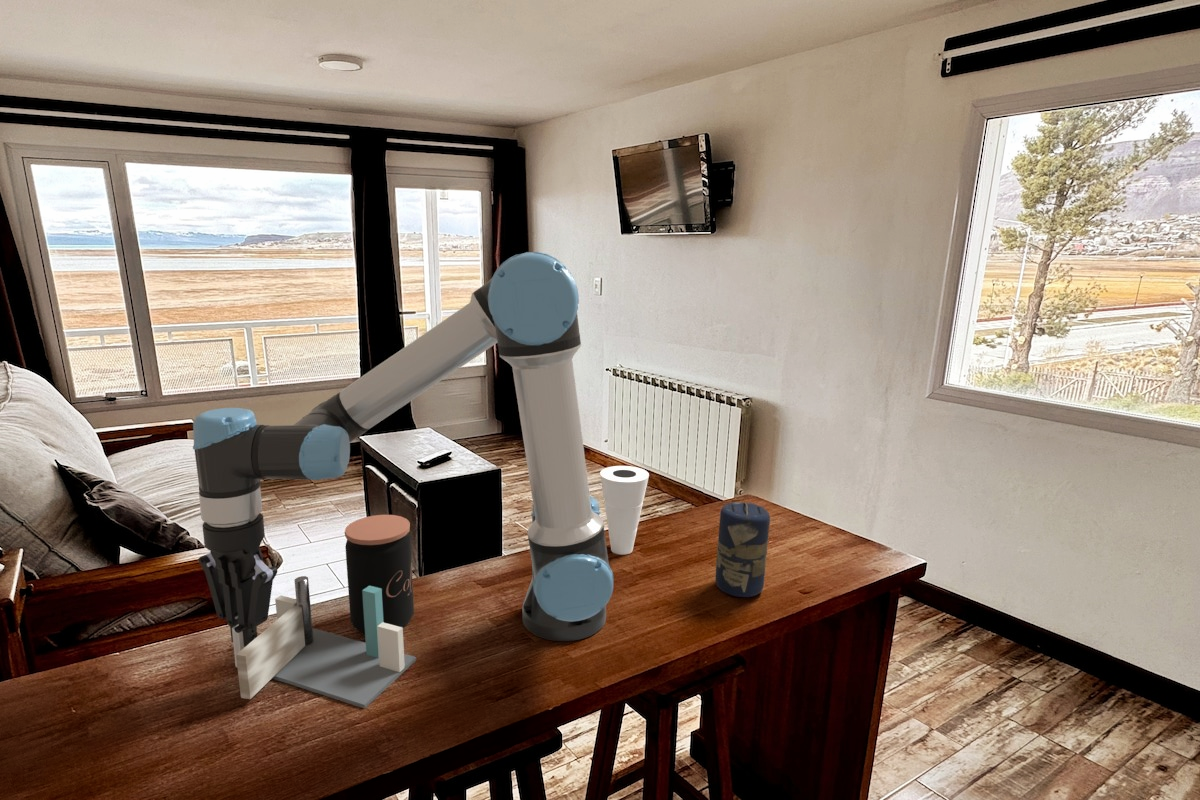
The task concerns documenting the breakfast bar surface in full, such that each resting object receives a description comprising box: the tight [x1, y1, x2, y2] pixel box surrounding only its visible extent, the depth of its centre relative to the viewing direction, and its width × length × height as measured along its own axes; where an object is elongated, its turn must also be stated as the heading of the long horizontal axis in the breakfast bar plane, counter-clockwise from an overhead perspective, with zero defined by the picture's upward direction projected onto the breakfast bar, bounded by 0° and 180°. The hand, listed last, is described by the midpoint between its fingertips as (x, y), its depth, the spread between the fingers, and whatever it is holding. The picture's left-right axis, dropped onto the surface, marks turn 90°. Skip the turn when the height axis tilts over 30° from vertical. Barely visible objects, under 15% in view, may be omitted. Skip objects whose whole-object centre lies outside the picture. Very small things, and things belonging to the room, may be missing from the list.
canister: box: [714, 501, 771, 598], centre depth 125 cm, size 10×10×18 cm
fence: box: [274, 594, 405, 672], centre depth 102 cm, size 24×1×7 cm, turn 70°
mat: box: [234, 627, 417, 709], centre depth 100 cm, size 25×12×1 cm, turn 70°
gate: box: [236, 606, 305, 700], centre depth 96 cm, size 13×2×7 cm, turn 171°
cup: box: [599, 465, 650, 556], centre depth 140 cm, size 11×11×18 cm
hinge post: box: [294, 575, 313, 646], centre depth 104 cm, size 2×2×12 cm
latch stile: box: [362, 586, 383, 658], centre depth 101 cm, size 2×2×12 cm
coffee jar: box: [344, 514, 415, 636], centre depth 110 cm, size 11×11×18 cm
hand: (246, 662), depth 95 cm, fingers closed
